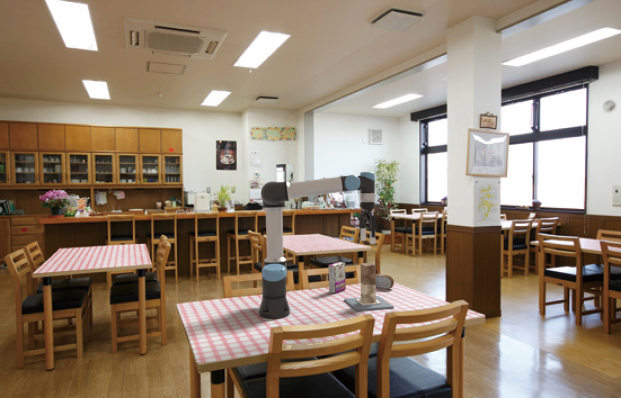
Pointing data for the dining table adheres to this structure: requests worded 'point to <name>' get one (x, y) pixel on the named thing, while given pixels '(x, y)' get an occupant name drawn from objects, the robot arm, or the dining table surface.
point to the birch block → (368, 293)
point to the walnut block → (368, 274)
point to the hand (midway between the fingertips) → (367, 242)
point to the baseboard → (359, 307)
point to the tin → (384, 281)
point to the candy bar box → (337, 277)
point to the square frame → (367, 303)
